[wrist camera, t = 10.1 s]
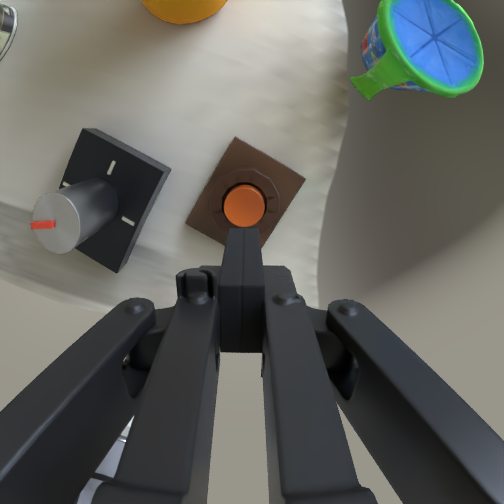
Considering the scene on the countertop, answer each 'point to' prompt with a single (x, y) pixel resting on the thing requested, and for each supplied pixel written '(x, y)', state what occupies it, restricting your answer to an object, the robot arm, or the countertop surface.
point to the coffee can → (7, 27)
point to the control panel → (126, 186)
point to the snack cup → (420, 49)
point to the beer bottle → (183, 9)
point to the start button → (244, 206)
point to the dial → (73, 214)
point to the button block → (245, 173)
